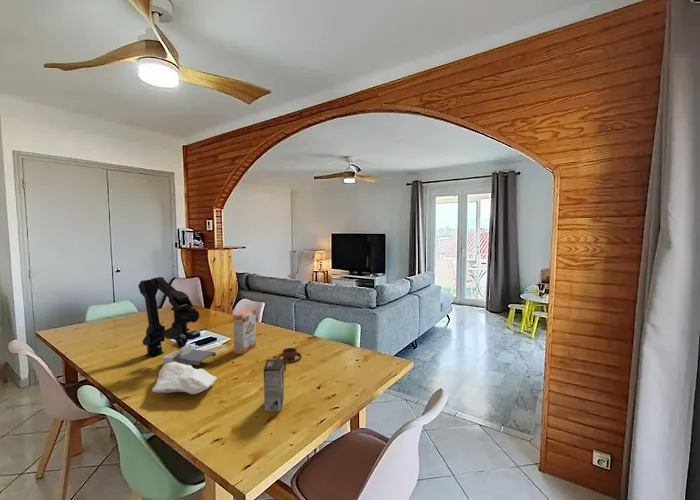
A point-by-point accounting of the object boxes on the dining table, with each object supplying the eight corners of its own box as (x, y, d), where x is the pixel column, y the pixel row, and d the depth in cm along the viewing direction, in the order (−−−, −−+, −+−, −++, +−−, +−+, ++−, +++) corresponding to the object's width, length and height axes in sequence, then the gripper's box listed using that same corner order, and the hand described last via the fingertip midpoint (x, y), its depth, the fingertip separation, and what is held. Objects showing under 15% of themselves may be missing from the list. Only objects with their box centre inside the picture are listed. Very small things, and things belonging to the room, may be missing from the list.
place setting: (311, 358, 174) (310, 347, 174) (286, 373, 157) (286, 361, 156) (284, 352, 182) (283, 341, 182) (257, 366, 165) (257, 354, 164)
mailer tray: (162, 364, 166) (162, 357, 165) (178, 356, 175) (178, 349, 175) (186, 368, 161) (185, 360, 161) (201, 360, 171) (201, 352, 171)
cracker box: (244, 354, 178) (243, 315, 176) (233, 354, 179) (232, 315, 177) (256, 345, 191) (256, 309, 190) (247, 344, 193) (246, 308, 191)
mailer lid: (173, 361, 162) (172, 350, 162) (191, 352, 174) (190, 342, 173) (199, 365, 158) (198, 353, 158) (215, 356, 169) (215, 345, 169)
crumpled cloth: (167, 413, 120) (171, 387, 121) (135, 382, 143) (137, 360, 144) (228, 398, 138) (231, 375, 138) (190, 372, 161) (193, 353, 161)
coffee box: (267, 399, 133) (266, 359, 131) (284, 398, 133) (283, 358, 132) (263, 412, 124) (262, 369, 122) (281, 411, 124) (280, 368, 123)
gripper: (151, 322, 162) (153, 354, 163) (183, 325, 156) (184, 358, 157) (170, 316, 172) (171, 346, 174) (200, 319, 167) (201, 350, 168)
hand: (181, 350), depth 168 cm, fingers closed
